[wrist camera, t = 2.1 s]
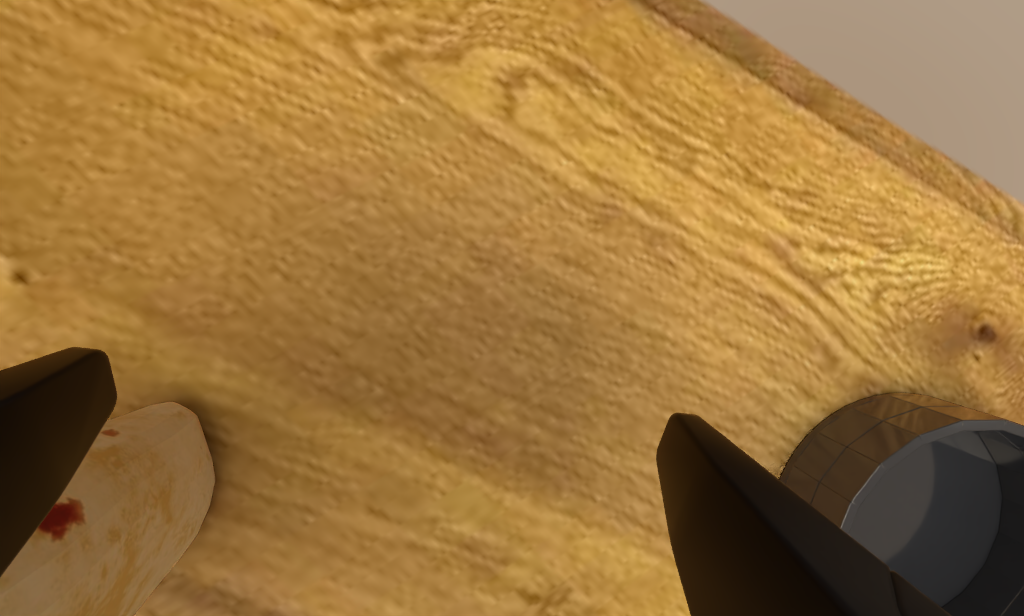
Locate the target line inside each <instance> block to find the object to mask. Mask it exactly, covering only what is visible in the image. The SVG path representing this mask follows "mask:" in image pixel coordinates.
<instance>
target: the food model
mask: <svg viewBox="0 0 1024 616" xmlns="http://www.w3.org/2000/svg"><path fill="white" fill-rule="evenodd" d="M214 484H215V475H214V469H213V462H212V458H211V455H210V451H209V448H208V445H207V442H206V439H205V436H204V433H203V430H202V427H201V425H200V422H199V419H198V417H197V415H196V414H195V413H193V412H192V411H191V410H189V409H188V408H186V407H184V406H182V405H180V404H178V403H175V402H165V403H159V404H154V405H149V406H147V407H144V408H141V409H138V410H136V411H133V412H130V413H128V414H125V415H122V416H119V417H116V418H113V419H111V420H108V421H106V423H105V424H104V426H103V428H102V429H101V431H100V433H99V434H98V436H97V438H96V439H95V441H94V443H93V444H92V446H91V448H90V449H89V451H88V453H87V454H86V456H85V458H84V459H83V461H82V463H81V464H80V466H79V468H78V469H77V471H76V473H75V474H74V476H73V478H72V479H71V481H70V483H69V484H68V486H67V487H66V489H65V490H64V492H63V493H62V495H61V496H60V498H59V499H58V501H57V502H56V504H55V505H54V506H53V508H52V509H51V511H50V512H49V513H48V515H47V516H46V517H45V519H44V520H43V521H42V523H41V524H40V525H39V527H38V528H37V529H36V531H35V532H34V533H33V535H32V536H31V537H30V539H29V540H28V541H27V543H26V544H25V545H24V547H23V548H22V549H21V551H20V552H19V553H18V555H17V556H16V557H15V559H14V560H13V561H12V563H11V564H10V565H9V567H8V568H7V569H6V571H5V572H4V573H3V575H2V576H1V577H0V616H133V615H134V614H135V613H136V612H137V610H138V609H139V608H140V607H141V606H142V604H143V603H144V602H145V601H146V600H147V598H148V597H149V596H150V595H151V593H152V592H153V591H154V590H155V589H156V587H157V586H158V585H159V584H160V582H161V581H162V580H163V579H164V578H165V576H166V575H167V574H168V573H169V571H170V570H171V569H172V568H173V566H174V565H175V564H176V563H177V561H178V560H179V559H180V558H181V556H182V555H183V554H184V552H185V551H186V550H187V548H188V547H189V545H190V544H191V543H192V541H193V540H194V539H195V537H196V536H197V534H198V532H199V530H200V527H201V525H202V522H203V520H204V518H205V516H206V513H207V511H208V509H209V506H210V503H211V498H212V493H213V488H214Z"/></svg>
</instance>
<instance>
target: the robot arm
mask: <svg viewBox="0 0 1024 616" xmlns="http://www.w3.org/2000/svg"><path fill="white" fill-rule="evenodd" d="M116 400H117V391H116V387H115V383H114V379H113V374H112V370H111V366H110V362H109V358H108V356H107V355H106V353H105V352H103V351H101V350H98V349H89V348H80V347H72V348H67V349H64V350H61V351H58V352H55V353H52V354H49V355H46V356H43V357H40V358H37V359H34V360H31V361H28V362H25V363H22V364H19V365H16V366H13V367H10V368H7V369H4V370H1V371H0V577H1V576H2V575H3V573H4V572H5V571H6V569H7V568H8V567H9V565H10V564H11V563H12V561H13V560H14V559H15V557H16V556H17V555H18V553H19V552H20V551H21V549H22V548H23V547H24V545H25V544H26V543H27V541H28V540H29V539H30V537H31V536H32V535H33V533H34V532H35V531H36V529H37V528H38V527H39V525H40V524H41V523H42V521H43V520H44V519H45V517H46V516H47V515H48V513H49V512H50V511H51V509H52V508H53V506H54V505H55V504H56V502H57V501H58V499H59V498H60V496H61V495H62V493H63V492H64V490H65V489H66V487H67V486H68V484H69V483H70V481H71V479H72V478H73V476H74V474H75V473H76V471H77V469H78V468H79V466H80V464H81V463H82V461H83V459H84V458H85V456H86V454H87V453H88V451H89V449H90V448H91V446H92V444H93V443H94V441H95V439H96V438H97V436H98V434H99V433H100V431H101V429H102V428H103V426H104V424H105V423H106V421H107V419H108V418H109V416H110V414H111V413H112V411H113V409H114V407H115V404H116ZM656 461H657V467H658V473H659V479H660V485H661V491H662V497H663V502H664V508H665V514H666V520H667V526H668V532H669V537H670V542H671V546H672V550H673V554H674V558H675V562H676V565H677V569H678V572H679V576H680V579H681V583H682V586H683V590H684V593H685V597H686V600H687V604H688V607H689V611H690V614H691V616H951V615H950V614H949V613H948V612H946V611H945V610H944V609H942V608H941V607H940V606H938V605H937V604H936V603H935V602H933V601H932V600H931V599H929V598H928V597H927V596H925V595H924V594H923V593H922V592H920V591H919V590H918V589H917V588H915V587H914V586H913V585H912V584H910V583H909V582H908V581H907V580H905V579H904V578H903V577H902V576H900V575H899V574H898V573H897V572H895V571H890V569H889V567H888V566H887V565H886V564H885V563H884V562H882V561H881V560H880V559H879V558H877V557H876V556H875V555H874V554H872V553H871V552H870V551H869V550H867V549H866V548H865V547H863V546H862V545H861V544H860V543H858V542H857V541H856V540H855V539H853V538H852V537H851V536H850V535H848V534H847V533H846V532H845V531H843V530H842V529H841V528H839V527H838V526H837V525H836V524H834V523H833V522H832V521H831V520H829V519H828V518H827V517H826V516H824V515H823V514H822V513H821V512H819V511H818V510H817V509H815V508H814V507H813V506H812V505H810V504H809V503H808V502H807V501H805V500H804V499H803V498H802V497H800V496H799V495H798V494H797V493H795V492H794V491H793V490H791V489H790V488H789V487H788V486H786V485H785V484H784V483H783V482H781V481H780V480H779V479H778V478H776V477H775V476H774V475H773V474H771V473H770V472H769V471H767V470H766V469H765V468H764V467H762V466H761V465H760V464H759V463H757V462H756V461H755V460H754V459H752V458H751V457H750V456H749V455H747V454H746V453H745V452H743V451H742V450H741V449H740V448H738V447H737V446H736V445H735V444H733V443H732V442H731V441H730V440H728V439H727V438H726V437H725V436H723V435H722V434H721V433H719V432H718V431H717V430H716V429H714V428H713V427H712V426H711V425H709V424H708V423H707V422H706V421H704V420H703V419H702V418H700V417H699V416H697V415H694V414H685V413H674V414H672V415H671V417H670V418H669V420H668V423H667V425H666V428H665V430H664V433H663V435H662V438H661V441H660V443H659V446H658V449H657V455H656Z"/></svg>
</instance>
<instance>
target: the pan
mask: <svg viewBox="0 0 1024 616" xmlns="http://www.w3.org/2000/svg"><path fill="white" fill-rule="evenodd" d="M780 481H781V482H783V483H784V484H785V485H786V486H788V487H789V488H790V489H791V490H793V491H794V492H795V493H797V494H798V495H799V496H800V497H802V498H803V499H804V500H805V501H807V502H808V503H809V504H810V505H812V506H813V507H814V508H815V509H817V510H818V511H819V512H821V513H822V514H823V515H824V516H826V517H827V518H828V519H829V520H831V521H832V522H833V523H834V524H836V525H837V526H838V527H839V528H841V529H842V530H843V531H845V532H846V533H847V534H848V535H850V536H851V537H852V538H853V539H855V540H856V541H857V542H858V543H860V544H861V545H862V546H863V547H865V548H866V549H867V550H869V551H870V552H871V553H872V554H874V555H875V556H876V557H877V558H879V559H880V560H881V561H882V562H884V563H885V564H886V565H887V566H888V567H889V569H890V571H895V572H897V573H898V574H899V575H900V576H902V577H903V578H904V579H905V580H907V581H908V582H909V583H910V584H912V585H913V586H914V587H915V588H917V589H918V590H919V591H920V592H922V593H923V594H924V595H925V596H927V597H928V598H929V599H931V600H932V601H933V602H935V603H936V604H937V605H938V606H940V607H941V608H942V609H944V610H945V611H946V612H948V613H949V614H950V615H951V616H1024V426H1023V425H1020V424H1018V423H1015V422H1012V421H1009V420H1006V419H1003V418H1000V417H996V416H993V415H990V414H986V413H983V412H980V411H977V410H973V409H970V408H967V407H964V406H960V405H957V404H954V403H951V402H947V401H944V400H941V399H938V398H934V397H931V396H928V395H921V394H912V393H888V394H882V395H876V396H872V397H869V398H865V399H862V400H859V401H857V402H854V403H852V404H850V405H848V406H845V407H843V408H842V409H840V410H838V411H837V412H835V413H833V414H832V415H830V416H829V417H828V418H826V419H825V420H824V421H823V422H821V423H820V424H819V425H817V426H816V427H815V428H814V429H813V430H812V431H811V432H810V433H809V434H808V435H807V436H806V437H805V439H804V440H803V441H802V442H801V444H800V445H799V446H798V447H797V449H796V450H795V451H794V453H793V455H792V456H791V458H790V460H789V461H788V463H787V465H786V467H785V469H784V471H783V473H782V475H781V478H780Z"/></svg>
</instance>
